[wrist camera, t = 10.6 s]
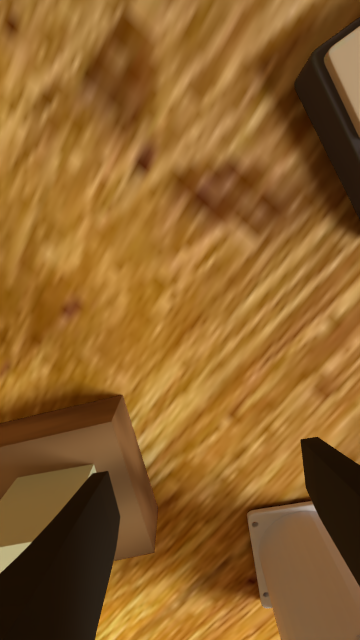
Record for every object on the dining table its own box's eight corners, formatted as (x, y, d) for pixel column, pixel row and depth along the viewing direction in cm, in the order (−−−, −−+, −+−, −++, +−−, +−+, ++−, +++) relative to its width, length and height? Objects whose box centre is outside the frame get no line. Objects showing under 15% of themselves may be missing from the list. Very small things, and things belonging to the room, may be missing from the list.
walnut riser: (158, 504, 24) (154, 552, 20) (40, 529, 24) (14, 581, 20) (123, 392, 22) (111, 421, 18) (-4, 422, 22) (-43, 456, 18)
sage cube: (113, 529, 20) (90, 620, 15) (39, 542, 20) (-7, 635, 15) (93, 463, 19) (63, 536, 14) (17, 477, 19) (-41, 554, 14)
